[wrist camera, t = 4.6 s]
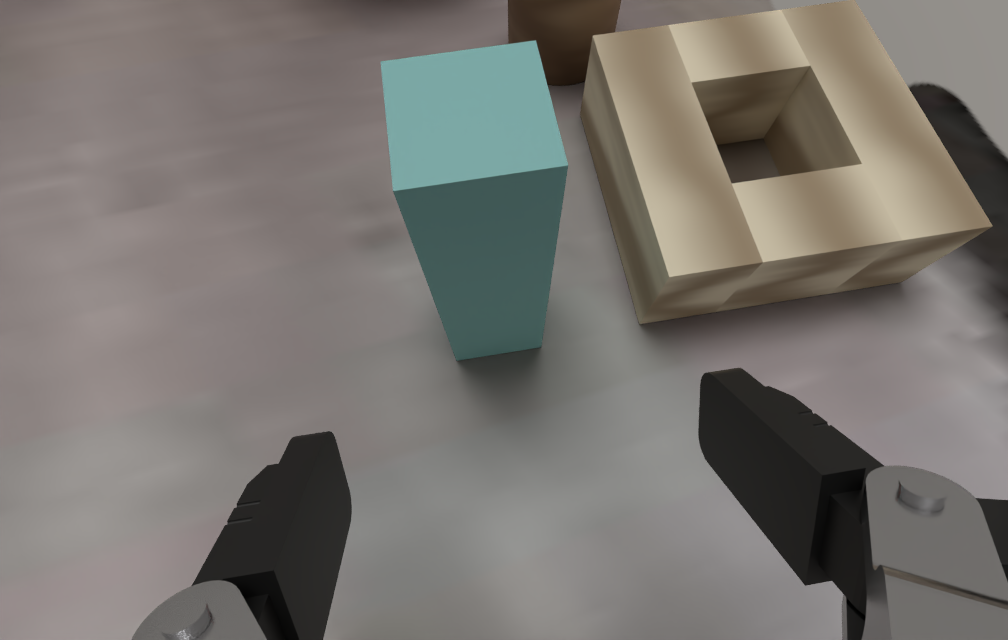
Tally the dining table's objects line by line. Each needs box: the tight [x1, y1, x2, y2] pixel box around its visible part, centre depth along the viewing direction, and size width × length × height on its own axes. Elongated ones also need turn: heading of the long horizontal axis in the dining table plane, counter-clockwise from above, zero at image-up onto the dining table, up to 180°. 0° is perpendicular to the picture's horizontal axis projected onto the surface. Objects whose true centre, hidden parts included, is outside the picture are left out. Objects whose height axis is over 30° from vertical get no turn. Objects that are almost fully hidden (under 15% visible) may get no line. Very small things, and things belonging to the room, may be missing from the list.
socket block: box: [580, 0, 992, 324], centre depth 24 cm, size 13×13×5 cm
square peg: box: [381, 40, 568, 361], centre depth 18 cm, size 4×4×13 cm
